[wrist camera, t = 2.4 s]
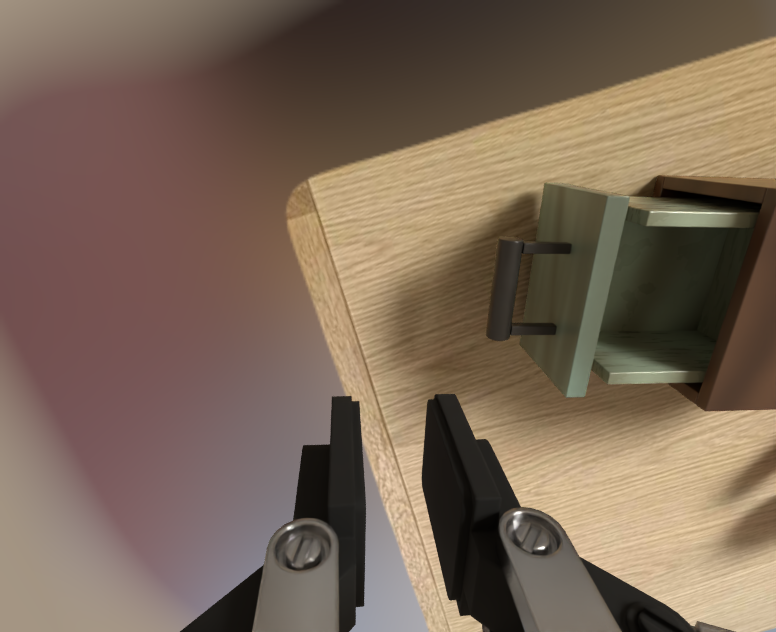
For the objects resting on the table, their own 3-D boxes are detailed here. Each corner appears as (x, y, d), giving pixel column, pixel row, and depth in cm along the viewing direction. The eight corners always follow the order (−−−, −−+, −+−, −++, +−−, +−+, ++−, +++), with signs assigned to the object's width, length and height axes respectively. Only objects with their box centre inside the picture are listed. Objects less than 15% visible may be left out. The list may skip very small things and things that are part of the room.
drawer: (463, 345, 32) (495, 399, 25) (480, 180, 28) (524, 193, 21) (689, 342, 34) (776, 392, 27) (737, 187, 30) (854, 201, 23)
